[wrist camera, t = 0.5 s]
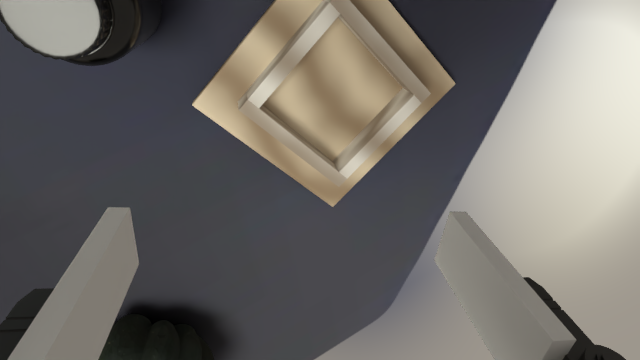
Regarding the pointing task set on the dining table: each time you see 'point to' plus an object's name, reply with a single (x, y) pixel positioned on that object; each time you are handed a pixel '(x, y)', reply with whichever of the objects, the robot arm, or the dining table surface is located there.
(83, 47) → the supplement bottle
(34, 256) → the dining table surface
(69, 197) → the dining table surface
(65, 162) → the dining table surface
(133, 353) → the squash
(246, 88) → the tray
